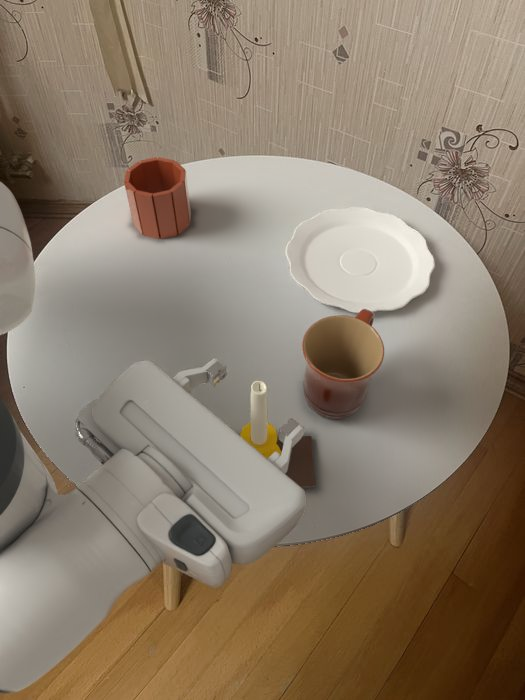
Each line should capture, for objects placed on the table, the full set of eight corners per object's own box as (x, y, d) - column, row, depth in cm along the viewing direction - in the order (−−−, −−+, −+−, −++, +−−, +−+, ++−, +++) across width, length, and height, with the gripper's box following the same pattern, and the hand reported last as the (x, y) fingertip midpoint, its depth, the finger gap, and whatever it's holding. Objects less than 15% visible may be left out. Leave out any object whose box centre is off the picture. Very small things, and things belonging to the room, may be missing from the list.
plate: (461, 272, 81) (464, 264, 80) (356, 344, 73) (358, 336, 72) (359, 197, 91) (360, 189, 89) (257, 254, 83) (257, 246, 81)
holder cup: (131, 239, 84) (121, 196, 78) (137, 200, 90) (128, 157, 83) (189, 239, 85) (183, 196, 78) (192, 200, 90) (186, 156, 83)
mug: (349, 441, 65) (363, 394, 57) (283, 407, 68) (287, 357, 59) (391, 367, 71) (408, 315, 63) (329, 338, 74) (338, 285, 66)
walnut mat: (205, 490, 62) (204, 487, 61) (206, 441, 65) (206, 437, 64) (314, 488, 62) (315, 485, 61) (310, 438, 65) (311, 435, 65)
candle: (286, 443, 64) (293, 366, 51) (276, 486, 61) (281, 415, 48) (242, 433, 65) (238, 354, 52) (229, 474, 62) (222, 402, 49)
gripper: (73, 441, 52) (183, 352, 58) (233, 603, 44) (342, 479, 50) (53, 407, 47) (176, 312, 53) (230, 582, 39) (351, 447, 45)
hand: (258, 394), depth 51 cm, fingers open, 8 cm apart
